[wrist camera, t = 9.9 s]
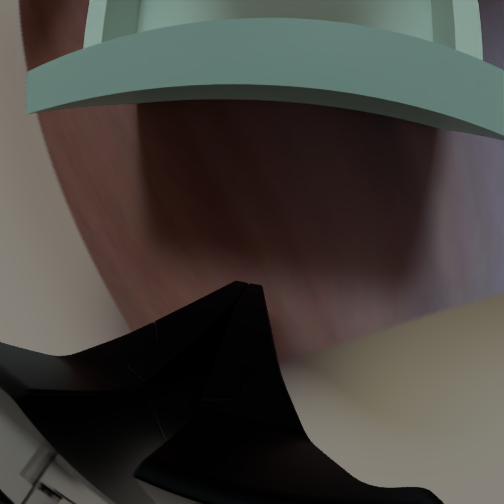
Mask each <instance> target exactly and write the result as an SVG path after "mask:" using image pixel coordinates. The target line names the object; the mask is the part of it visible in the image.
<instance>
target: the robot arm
mask: <svg viewBox="0 0 504 504" xmlns="http://www.w3.org/2000/svg"><path fill="white" fill-rule="evenodd" d="M0 504H444V503H443V502H442V501H441V500H440V499H439V498H438V497H437V496H436V495H435V494H433V493H432V492H431V491H430V490H427V489H425V488H420V487H399V488H384V487H377V486H372V485H369V484H366V483H364V482H361V481H359V480H358V479H356V478H354V477H353V476H352V475H350V474H349V473H347V471H345V470H344V469H343V468H342V467H340V466H339V465H338V464H337V463H335V462H334V461H333V460H332V459H330V458H329V457H328V456H327V455H326V454H324V453H323V452H322V451H321V450H320V449H318V448H317V447H316V446H315V445H314V444H313V443H312V442H311V441H310V439H309V438H308V436H307V434H306V433H305V431H304V429H303V427H302V424H301V422H300V420H299V417H298V415H297V413H296V410H295V408H294V405H293V403H292V401H291V398H290V396H289V394H288V391H287V389H286V386H285V383H284V380H283V378H282V375H281V371H280V367H279V363H278V358H277V354H276V349H275V345H274V340H273V335H272V330H271V325H270V320H269V315H268V311H267V306H266V301H265V296H264V291H263V287H262V286H261V285H257V284H249V285H248V283H246V282H240V281H234V282H232V283H230V284H228V285H226V286H224V287H222V288H220V289H218V290H216V291H214V292H212V293H210V294H208V295H207V296H205V297H203V298H201V299H199V300H197V301H195V302H193V303H191V304H189V305H187V306H185V307H183V308H181V309H179V310H177V311H175V312H173V313H170V314H168V315H166V316H164V317H162V318H160V319H158V320H156V321H155V322H154V323H153V322H152V323H150V324H148V325H146V326H144V327H142V328H140V329H137V330H135V331H133V332H131V333H129V334H126V335H124V336H121V337H119V338H116V339H114V340H111V341H108V342H106V343H103V344H100V345H98V346H95V347H92V348H89V349H87V350H84V351H81V352H78V353H75V354H72V355H67V356H52V355H47V354H43V353H39V352H35V351H31V350H27V349H23V348H19V347H15V346H12V345H8V344H5V343H1V342H0Z"/></svg>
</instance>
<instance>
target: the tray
mask: <svg viewBox="0 0 504 504" xmlns="http://www.w3.org/2000/svg"><path fill="white" fill-rule="evenodd" d="M201 99H242V100H267V101H283V102H295V103H305V104H315V105H323V106H331V107H338V108H345V109H352V110H358V111H364V112H369V113H374V114H380V115H385V116H389V117H394V118H399V119H403V120H407V121H412V122H416V123H420V124H424V125H427V126H431V127H435V128H438V129H445V130H451V131H458V132H464V133H469V134H475V135H480V136H485V137H490V138H495V139H499V140H504V70H502V69H500V68H498V67H496V66H494V65H492V64H490V63H487V62H485V61H483V52H482V34H481V22H480V13H479V5H478V0H90V3H89V9H88V15H87V22H86V29H85V38H84V47H83V49H81V50H78V51H75V52H73V53H70V54H67V55H65V56H62V57H60V58H57V59H55V60H52V61H50V62H48V63H45V64H43V65H41V66H39V67H36V68H34V69H32V70H30V71H28V72H27V82H26V114H32V113H38V112H45V111H52V110H59V109H68V108H77V107H88V106H100V105H118V104H138V103H148V102H160V101H176V100H201Z"/></svg>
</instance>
